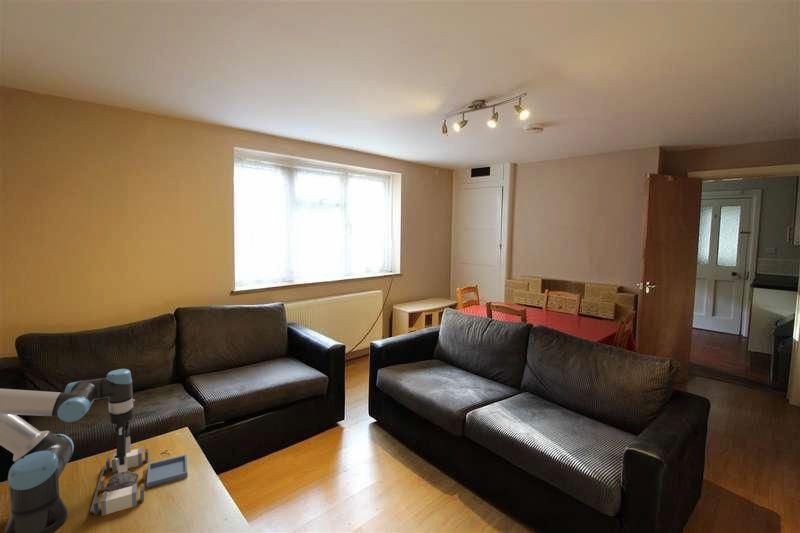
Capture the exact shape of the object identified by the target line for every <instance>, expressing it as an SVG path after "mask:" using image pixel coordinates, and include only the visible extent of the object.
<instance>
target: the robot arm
mask: <svg viewBox="0 0 800 533" xmlns="http://www.w3.org/2000/svg"><path fill="white" fill-rule="evenodd" d="M133 392H134V391H133V379H132V373H131V370H129V369H127V368H119V369H115V370H110V371H109V372H108V373H107V374H106V377H102V378H95V379H87V380H86V379H85V380H78V381H74V382H70V383H68V384H67V385H66V386H65V389H64V392H60V391H59V392H57V391H44V390H43V391H42V390H28V389H12V388H0V446H1V447H2V448H4V449H6V450H7V451H9V452H10V453H12V454H13V457H12V461H13V462H14V463H13V464H12V465H11V467H10V468H9V470H8V474H7V475H8V476H7V485H8V492H9V505H10V516H9V518H8V521H7V523H6V527H5V530H4V533H51V532H52V533H54V532H55V531H57V530H59V529H60V527H61V526H63V524H64V523H66V521H67V520H68V517H69V516H68V507H67V506H66V503H64V501H63V499H62V498H61V496H60V482H59V480H60V476H61V474H62V473H63V471H64V470H65V467H66V466H67V464H68V463H69V461H70V460H71V458H72V457H73V453H74V448H75V445H74V442H73V440H72V439H71V437H69V436H68V435H67V434H62V433H52V431H49V430H42V431H41V430H38V428H36V427H34V426H33V425H32V424H30V423H28V422H27V421H26V420H25V419H23V418H22V417H20V416H38V417H39V416H41V417H58V419H59V420H61V421H62V422H65V423H74V422H76V421H80V419H82V418H83V417H84V416H85V415H86V414H87V413H88V412H89V410H90V408H91V406H92V404H93V403H94V401H96V400H98V401H99V400H102V399H106V398H107V400H108V401H107V402H108V412H109V413H108V415H109V422H110V424H112V425H116V426H115V437H116V452H117V456H115V458H117V461H118V471H117V473H121V472H125V471H128V468H127V455H126V453H129V452H131V450H132V447H131V436H132V435H133V432H132V431H131V427H130V421H131V420H132V419H134V417H135V410H134V402H136V399H135V398H134V397H133V396H134V394H133ZM18 415H19V416H18ZM53 531H54V532H53Z"/></svg>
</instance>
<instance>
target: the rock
mask: <svg viewBox="0 0 800 533" xmlns="http://www.w3.org/2000/svg"><path fill="white" fill-rule="evenodd" d="M138 478H139V474H138V473H137V472H132V471H130V470H127V471H125V472H121V473H118V472H116V473H114V474H113V475H112V476H111V477H110V478H109V479H108V481H107V483H106V485H105V486H106V487H105V489H104V490H105V491H104V492H106V491H108V492H111V491H115V490H119V489H122V488H126V487H130V486H133V484H136V482H137V480H138Z"/></svg>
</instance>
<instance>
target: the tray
mask: <svg viewBox="0 0 800 533" xmlns="http://www.w3.org/2000/svg"><path fill="white" fill-rule="evenodd" d="M187 455H188V454H183V455H178V456H175V457H171V458H167V459H163V460H158V461H155V462H150V463H148V466H147V473H146V489H149V488H151V487H155V486H159V485H162V484H166V483H170V482H174V481H177V480H181V479H184V478H188V475H189V474H188V461H187V460H188V458H187V457H188V456H187Z"/></svg>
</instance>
